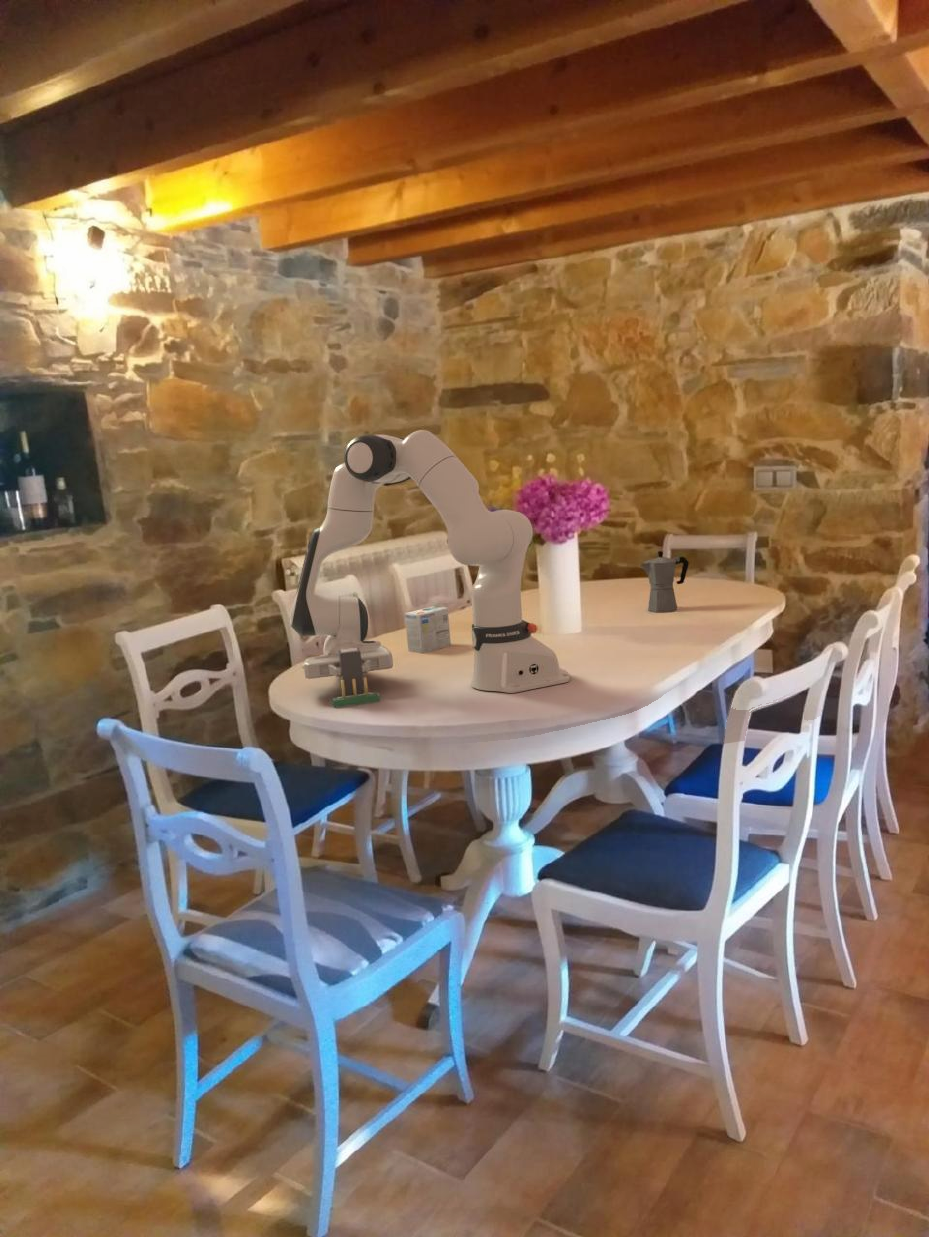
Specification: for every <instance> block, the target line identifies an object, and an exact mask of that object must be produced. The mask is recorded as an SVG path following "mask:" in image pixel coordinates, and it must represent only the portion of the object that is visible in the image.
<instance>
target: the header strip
mask: <svg viewBox="0 0 929 1237" xmlns="http://www.w3.org/2000/svg"><path fill="white" fill-rule="evenodd" d="M367 680H368V679H367V677H366V676H365V677H364V676H363V683H364V693H365V694H358V695H357V691H356V681H355V679H352V683H353V693H354V695H351V696H345V686H344V680H341V679H340V686H341V696H338V697H336V698H335V697H334V698H332V706H333V708H338V707H339V708H340V707H347V706H354V705H362V704H368V703H369V704H370V703H378V702H380V697H379V696H380V695H379V693H378V692H369V689H368V688H369V687H368V681H367Z"/></svg>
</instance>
